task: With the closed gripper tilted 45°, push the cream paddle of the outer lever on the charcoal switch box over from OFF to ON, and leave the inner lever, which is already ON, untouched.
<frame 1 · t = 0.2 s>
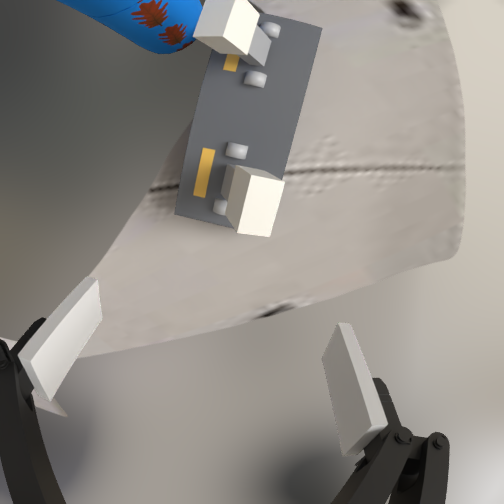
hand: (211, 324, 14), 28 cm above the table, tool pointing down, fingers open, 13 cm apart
thermos: (171, 25, 30), on the table
outer lever: (243, 191, 28), point 12 cm above the table, hinge at -20.0°
switch box: (248, 118, 36), on the table
inner lever: (241, 35, 22), point 12 cm above the table, hinge at 20.0°
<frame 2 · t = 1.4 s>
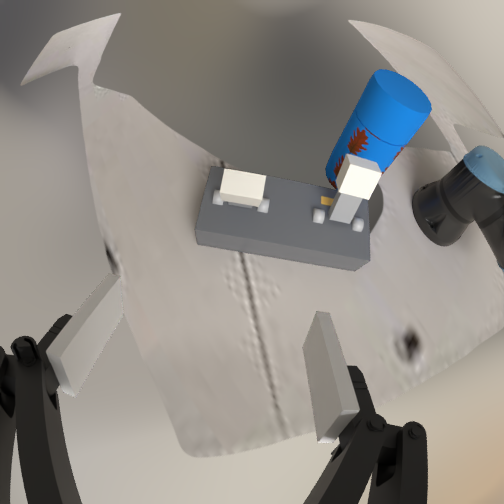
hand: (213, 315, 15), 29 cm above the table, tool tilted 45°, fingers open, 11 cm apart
thermos: (347, 176, 57), on the table
outer lever: (241, 193, 38), point 12 cm above the table, hinge at -20.0°
switch box: (283, 226, 50), on the table
inner lever: (351, 192, 41), point 12 cm above the table, hinge at 20.0°
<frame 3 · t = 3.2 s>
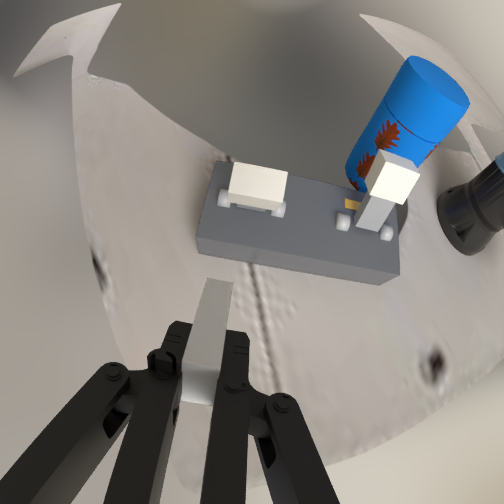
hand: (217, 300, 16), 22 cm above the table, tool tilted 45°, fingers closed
thermos: (369, 176, 49), on the table
outer lever: (254, 194, 31), point 12 cm above the table, hinge at -20.0°
switch box: (299, 233, 43), on the table
inner lever: (382, 195, 33), point 12 cm above the table, hinge at 20.0°
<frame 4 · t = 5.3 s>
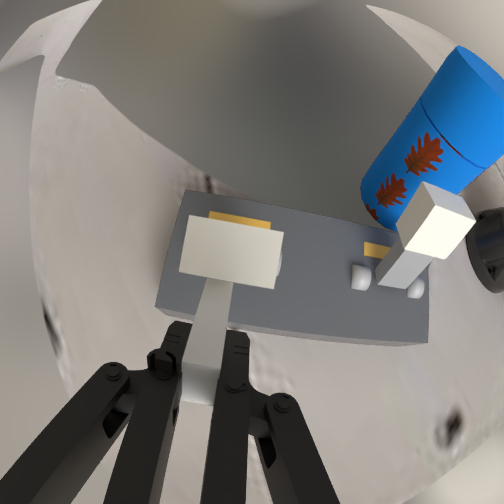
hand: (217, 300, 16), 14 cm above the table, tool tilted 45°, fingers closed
thermos: (390, 199, 38), on the table
outer lever: (232, 254, 20), point 12 cm above the table, hinge at -18.1°, touching gripper
switch box: (300, 284, 32), on the table
inner lever: (418, 245, 22), point 12 cm above the table, hinge at 20.0°
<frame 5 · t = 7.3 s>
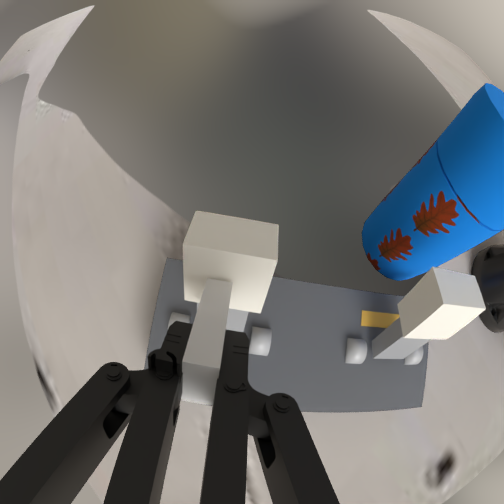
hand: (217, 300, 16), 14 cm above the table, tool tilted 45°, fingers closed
thermos: (393, 244, 36), on the table
outer lever: (225, 293, 19), point 11 cm above the table, hinge at 25.7°, touching gripper
switch box: (293, 348, 30), on the table
inner lever: (420, 325, 20), point 12 cm above the table, hinge at 20.0°
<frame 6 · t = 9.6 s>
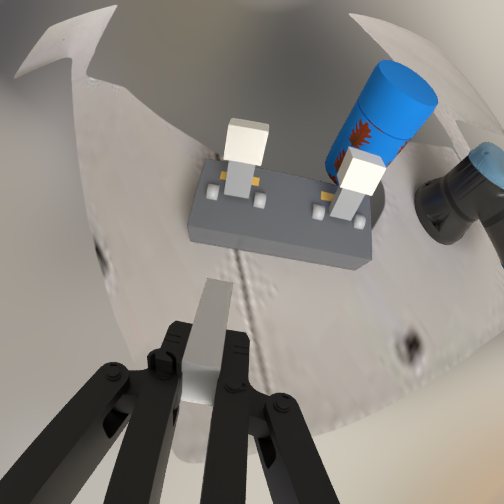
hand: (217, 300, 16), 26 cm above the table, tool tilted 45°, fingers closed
thermos: (348, 171, 54), on the table
outer lever: (242, 160, 37), point 11 cm above the table, hinge at 25.8°
switch box: (280, 223, 48), on the table
inner lever: (353, 187, 38), point 12 cm above the table, hinge at 20.0°
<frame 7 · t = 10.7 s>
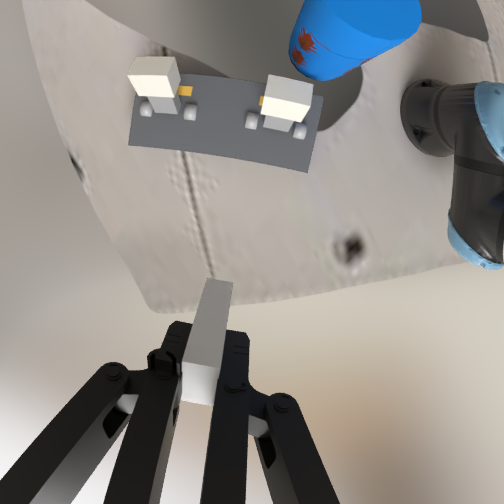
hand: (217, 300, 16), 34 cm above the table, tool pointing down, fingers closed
thermos: (318, 53, 38), on the table
outer lever: (160, 89, 31), point 11 cm above the table, hinge at 25.8°
switch box: (225, 117, 43), on the table
inner lever: (282, 109, 32), point 12 cm above the table, hinge at 20.0°
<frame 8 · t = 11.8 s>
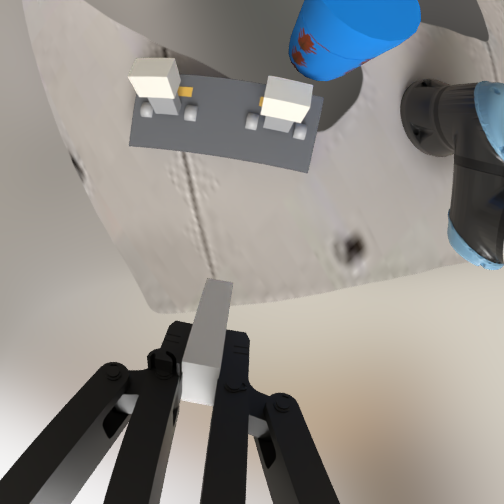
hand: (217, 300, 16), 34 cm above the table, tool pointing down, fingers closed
thermos: (318, 54, 38), on the table
outer lever: (160, 90, 31), point 11 cm above the table, hinge at 25.8°
switch box: (226, 118, 43), on the table
inner lever: (282, 109, 32), point 12 cm above the table, hinge at 20.0°
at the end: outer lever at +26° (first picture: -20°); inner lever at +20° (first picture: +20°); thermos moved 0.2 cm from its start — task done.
